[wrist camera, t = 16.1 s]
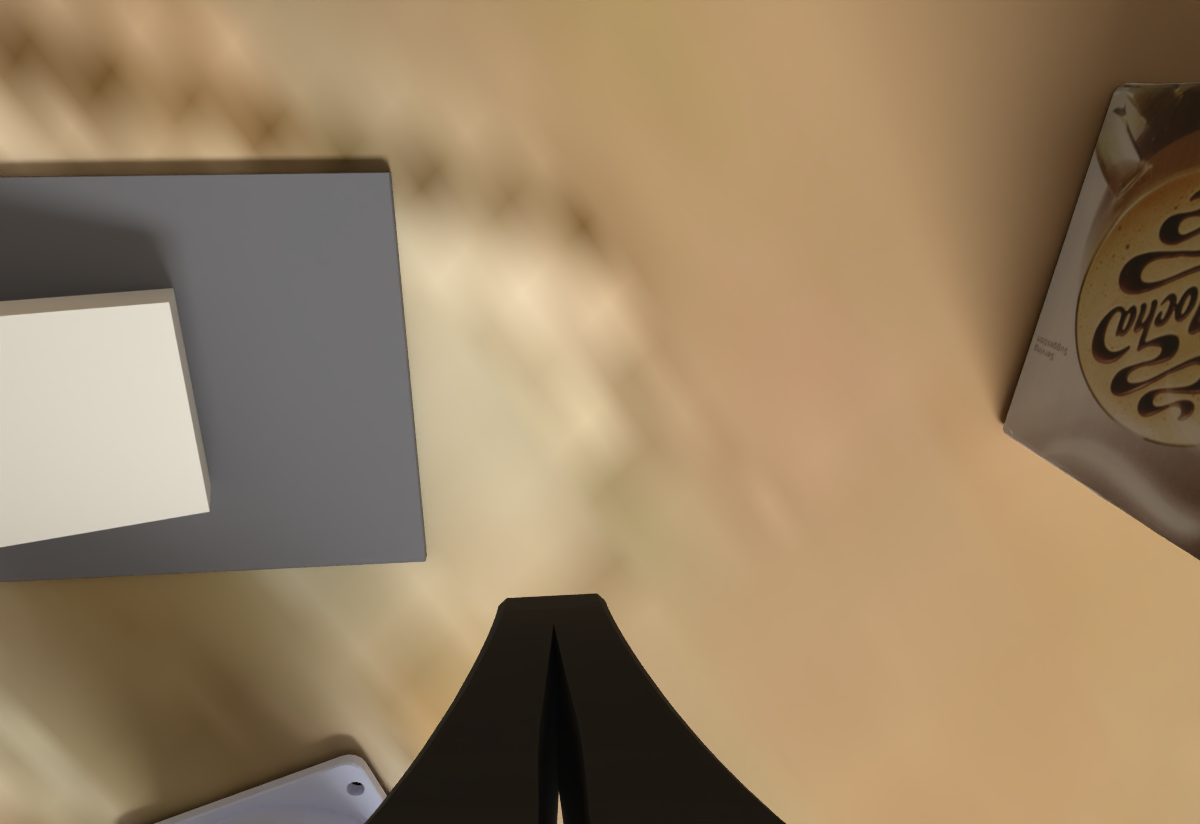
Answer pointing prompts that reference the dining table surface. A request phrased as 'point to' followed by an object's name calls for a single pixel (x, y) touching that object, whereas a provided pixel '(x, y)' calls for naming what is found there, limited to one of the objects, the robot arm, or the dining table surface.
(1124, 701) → the dining table surface
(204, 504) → the domino
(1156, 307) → the coffee box
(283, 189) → the mat
